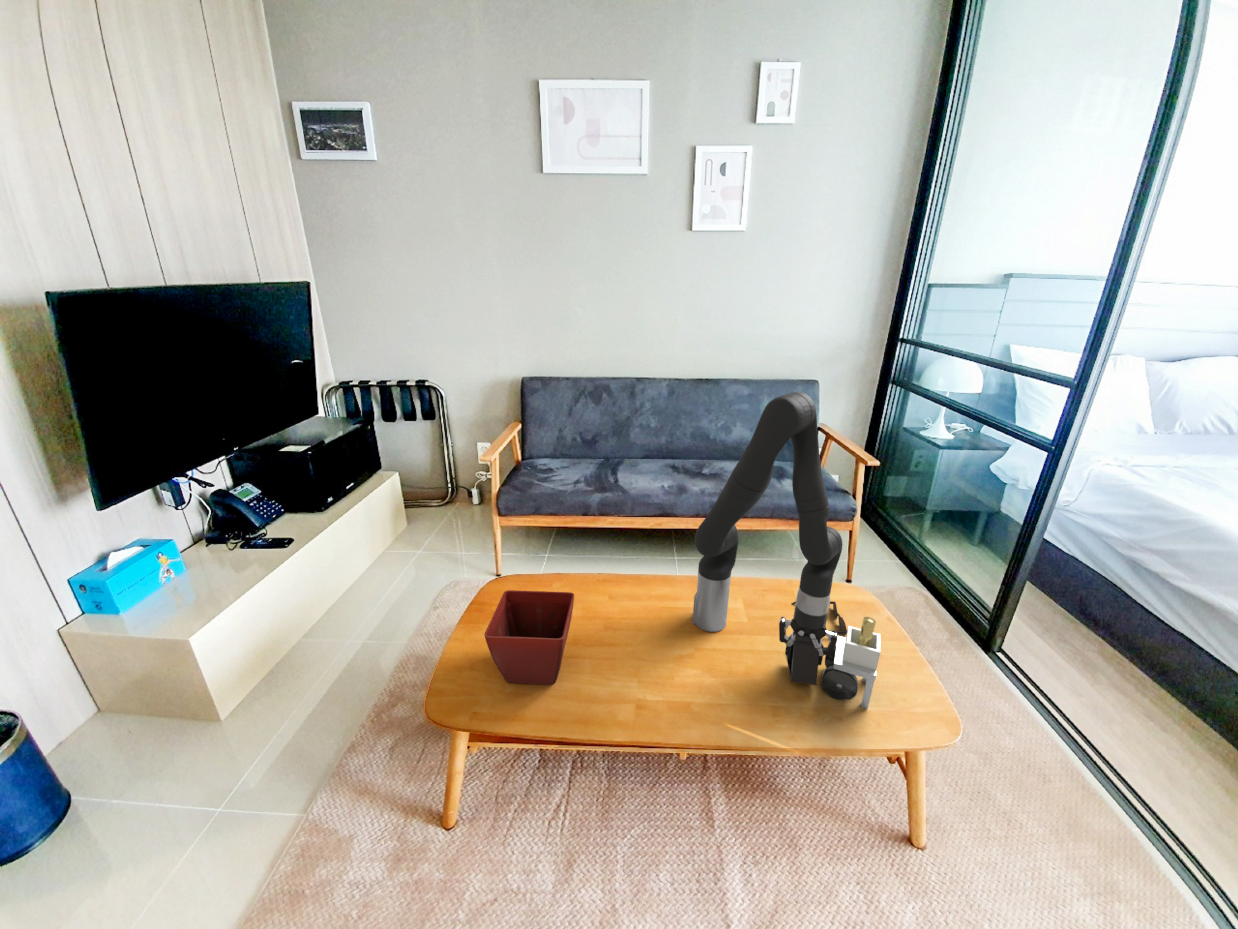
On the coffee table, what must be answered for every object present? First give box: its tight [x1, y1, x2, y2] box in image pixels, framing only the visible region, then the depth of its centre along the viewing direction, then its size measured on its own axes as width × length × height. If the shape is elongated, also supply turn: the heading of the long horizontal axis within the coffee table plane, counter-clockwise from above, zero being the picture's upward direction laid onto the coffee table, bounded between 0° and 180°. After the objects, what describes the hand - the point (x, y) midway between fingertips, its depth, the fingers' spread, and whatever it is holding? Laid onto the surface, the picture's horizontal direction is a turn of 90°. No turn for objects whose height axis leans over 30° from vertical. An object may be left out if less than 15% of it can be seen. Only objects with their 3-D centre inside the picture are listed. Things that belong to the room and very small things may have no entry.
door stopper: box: [786, 630, 822, 686], centre depth 127 cm, size 9×6×12 cm, turn 170°
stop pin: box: [857, 616, 877, 647], centre depth 120 cm, size 3×3×10 cm
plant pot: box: [484, 589, 575, 685], centre depth 130 cm, size 19×19×17 cm
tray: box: [843, 625, 882, 671], centre depth 122 cm, size 7×7×5 cm
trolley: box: [820, 635, 877, 710], centre depth 125 cm, size 11×11×10 cm
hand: (802, 660), depth 129 cm, fingers closed on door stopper, 6 cm apart
